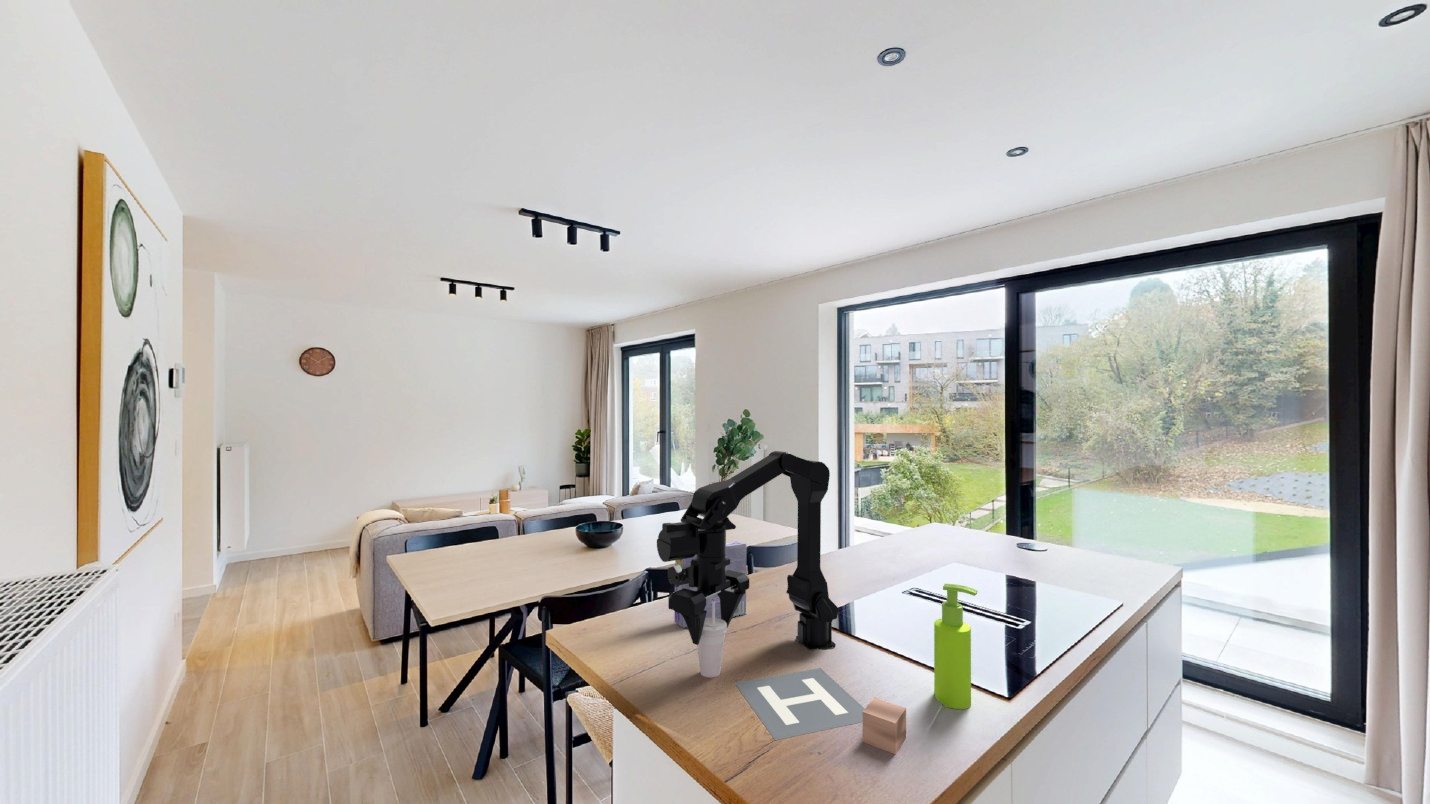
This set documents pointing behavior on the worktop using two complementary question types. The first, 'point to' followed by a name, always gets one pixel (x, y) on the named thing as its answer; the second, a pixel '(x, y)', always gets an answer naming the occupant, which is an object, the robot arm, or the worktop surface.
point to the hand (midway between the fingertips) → (710, 635)
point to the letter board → (800, 703)
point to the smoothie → (711, 645)
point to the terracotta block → (884, 725)
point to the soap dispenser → (953, 652)
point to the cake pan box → (738, 564)
